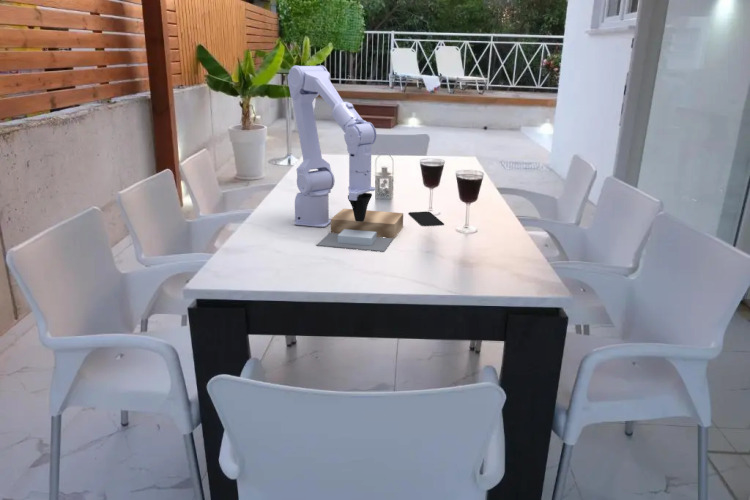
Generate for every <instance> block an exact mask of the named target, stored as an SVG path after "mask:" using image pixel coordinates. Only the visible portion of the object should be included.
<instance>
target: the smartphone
mask: <svg viewBox="0 0 750 500" xmlns="http://www.w3.org/2000/svg"><path fill="white" fill-rule="evenodd" d="M408 216H409V217H410V218H411V219H412V220H414V221H415V222H416V223H417V224H418V225H419V226H420V227H437V226H438V227H439V226H445V223H444V222H443V221H442V220H441V219H439V218H438V217H437V216H436V215H435V214H434V213H432V212H431V211H410V212H408Z"/></svg>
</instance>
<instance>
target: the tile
mask: <svg viewBox="0 0 750 500" xmlns="http://www.w3.org/2000/svg"><path fill="white" fill-rule="evenodd" d="M376 239H377V232H373V231H361V230H349V229H344V230H343V231H342V232H341V233H340V234H339V235H338V243H347V244H358V245H369V246H371V245H372V244H373V243H374V242H375V240H376Z"/></svg>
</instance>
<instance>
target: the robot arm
mask: <svg viewBox="0 0 750 500" xmlns="http://www.w3.org/2000/svg"><path fill="white" fill-rule="evenodd" d="M286 77H287V83H288V88H289V93H290V94H289V95H290V98H291V99H292V104H293V110H294V116H295V121H296V122H295V123H296V127H297V132H298V139H299V143H300V144H299V145H300V150H301V156H302V159H303V160H302V162H301V163H300V164H299V166H298V167H297V168H296V185H297V186H296V187H297V188H298V190H299V192H297V193H296V195H295V198H294V223H293V224H294V225H295V226H303V227H306V226H307V227H316V228H317V227H318V228H326V227H327V226H329V225H331V218H330V217H329V216H330V215H329V214H330V213H329V212H330V210H329V207H330V206H329V205H330V203H329V194H330V193H331V190H332V189H333V188H334V186H335V182H336V181H335V176H334V173H333V171H332V169H331V164H330V162H328V161H327V160H325V159H324V158H323V156H322V151H321V145H320V141H319V140H320V139H319V135H318V129H317V123H316V117H315V112H314V111H315V110H314V106H313V102H314V100H315V98H318V96H320V98H322V99H323V101H325V103H326V104H327V105H328V106H329V107H330V108H331V110H332V118H333V119H334V121H335V122H336V123H337V125H338V126H339V127H340V128H341V130H342V131H343V132H344V134H343V138H344V141H345V143H346V148H347V153H348V154H349V155H348V160H349V161H348V164H349V165H348V166H349V167H348V174H349V175H348V178H349V179H348V182H349V183H348V187H347V188H348V195H347V200H348V201H349V203H350V206H351V209H353V212H354V217H355V221H360V222H363V221H364V219H365V215H366V210H367V209H368V207H369V203H370V201H371V198H372V196H373V193H371V192H375V191H376V186H375V187H374V186H372V145H374V143H375V142H376V139H377V130H376V128H375V126H374V124H373V123H372V122H370V121H366V120H364V119H363V118H362V116H360V114H359V113H358V111H357V110H356V109H355V107H354V105H353V103H351V102H349V101H343V99H342V97H341V96H340V94H339V92H338V91H337V90H336V88H335V86H334V85H333V83H332V82H331V73H330V72H329V71H328V69H327V68H326V67H325V65H295V64H294V65H293V66H292V67H291V68H290V69H289V73H288V75H287V76H286Z"/></svg>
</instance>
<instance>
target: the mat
mask: <svg viewBox="0 0 750 500" xmlns="http://www.w3.org/2000/svg"><path fill="white" fill-rule="evenodd" d="M338 235H339V234H338V233H331V232H329V233H328V234H327V235H325V237H323V238H322V239H321V240H320V241H318V243H316V245H315V246H316V247H324V248H325V247H326V248H334V249H335V248H336V249H345V248H346V250H347V249H349V250H356V249H358V250H357V251H367V250H371V251H370V252H377V251H380V253H385V252H386V251H387V249H388V248H389V246H390V245H391V244H392V242H393V241H394V238H383V237H377V239H376V240H375V242H374V243H373V244H372V245H371V246H369V245H358V244H347V243H338ZM390 243H391V244H390ZM387 247H388V248H387Z"/></svg>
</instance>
